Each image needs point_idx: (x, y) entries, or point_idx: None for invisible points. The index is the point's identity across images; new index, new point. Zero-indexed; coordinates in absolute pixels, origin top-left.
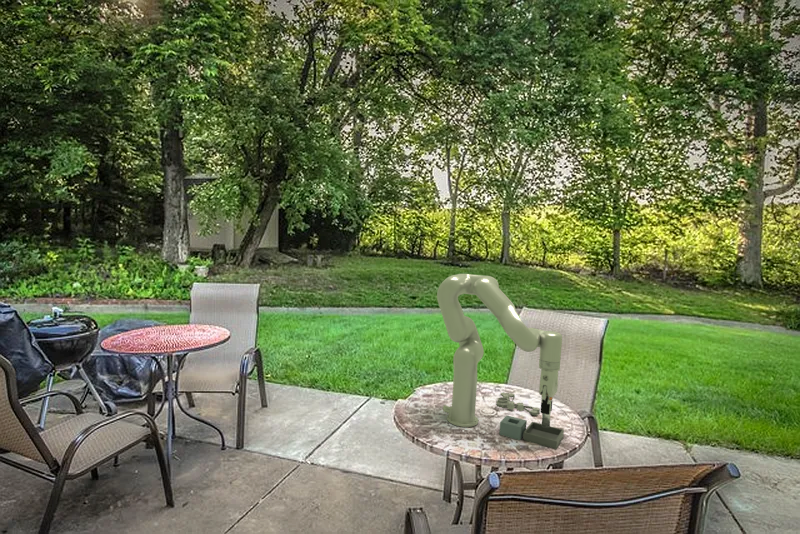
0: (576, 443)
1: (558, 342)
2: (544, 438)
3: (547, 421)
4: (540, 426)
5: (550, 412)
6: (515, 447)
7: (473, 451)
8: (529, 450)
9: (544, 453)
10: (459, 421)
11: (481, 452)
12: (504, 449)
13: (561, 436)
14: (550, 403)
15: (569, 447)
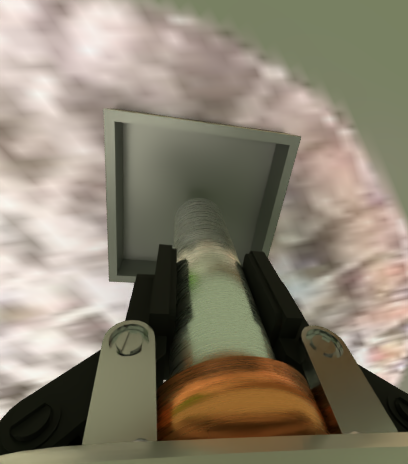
0: (153, 18)
1: None
2: (282, 201)
3: (225, 227)
4: (118, 236)
5: (212, 246)
6: (321, 277)
7: (381, 356)
8: (331, 234)
9: (340, 178)
10: None
11: (383, 342)
12: (347, 301)
13: (170, 117)
14: (242, 314)
15: (231, 63)
